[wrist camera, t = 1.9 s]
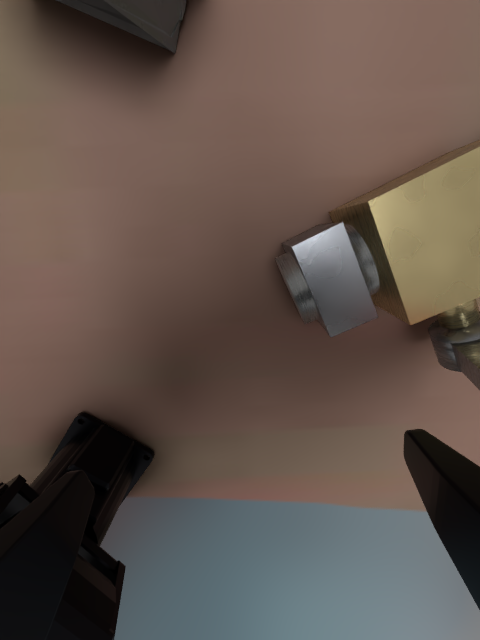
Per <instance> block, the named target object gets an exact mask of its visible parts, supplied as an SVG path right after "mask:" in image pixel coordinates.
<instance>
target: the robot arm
mask: <svg viewBox="0 0 480 640" xmlns="http://www.w3.org/2000/svg"><path fill="white" fill-rule="evenodd" d="M81 419H83V420H84V421H82V420H81ZM146 455H148V456H149V457H148V456H146ZM154 455H155V454H154V451H153V450H151V449H150V448H148V447H146V446H144V445H142V444H141V443H139V442H137V441H135V440H133V439H132V438H130V437H128V436H126V435H125V434H123V433H121V432H119V431H117V430H116V429H114V428H112V427H110V426H108V425H107V424H105V423H103V422H101V421H99V420H98V419H96V418H94V417H92V416H90V415H89V414H87V413H79V414H78V415H77V417H76V418H75V419H74V421H73V422H72V424H71V426H70V427H69V429H68V431H67V433H66V434H65V436H64V438H63V439H62V441H61V443H60V445H59V446H58V448H57V450H56V451H55V453H54V455H53V457H52V458H51V460H50V462H49V463H48V465H47V467H46V468H45V469H44V470H43V471H42V472H41V473H40V475H39V476H38V477H37V478H36V479H35V480H34V481H33V482H32V484H31V485H30V486H29V485H28V484H27V483H26V480H25V479H24V478H23V477H22V476H21V475H20V474H19V475H18V476H16V477H15V478H14V479H12V480H11V481H9V482H8V483H7V484H4V483H3V482H2V483H0V640H114V636H115V630H116V624H117V617H118V611H119V605H120V599H121V592H122V586H123V580H124V573H125V566H124V564H122V563H121V562H120V561H116V560H115V559H114V558H113V557H111V556H110V555H109V554H108V553H107V552H106V551H105V550H103V549H102V548H101V547H100V545H101V543H102V541H103V539H104V537H105V535H106V533H107V531H108V528H109V527H110V525H111V522H112V520H113V518H114V516H115V514H116V512H117V510H118V508H119V506H120V505H121V503H122V502H123V500H124V499H125V498H126V496H127V495H128V494H129V492H130V491H131V489H132V488H133V487H134V485H135V484H136V483H137V481H138V480H139V478H140V477H141V476H142V474H143V473H144V471H145V470H146V469H147V467H148V466H149V465H150V463H151V462H152V460H153V458H154ZM404 458H405V461H406V464H407V466H408V469H409V471H410V473H411V476H412V478H413V480H414V482H415V485H416V487H417V489H418V492H419V494H420V496H421V499H422V501H423V503H424V505H425V508H426V510H427V512H428V515H429V516H430V519H431V521H432V523H433V525H434V528H435V529H436V531H437V533H438V535H439V537H440V539H441V541H442V543H443V544H444V546H445V548H446V550H447V552H448V554H449V555H450V557H451V559H452V561H453V563H454V564H455V566H456V568H457V570H458V571H459V574H460V575H461V577H462V579H463V580H464V583H465V584H466V586H467V588H468V590H469V592H470V593H471V595H472V597H473V599H474V601H475V603H476V604H477V606H478V608H479V610H480V467H479V466H478V465H476V464H475V463H473V462H472V461H470V460H469V459H467V458H466V457H464V456H463V455H461V454H460V453H458V452H457V451H455V450H454V449H452V448H451V447H449V446H448V445H446V444H445V443H443V442H442V441H440V440H439V439H437V438H436V437H434V436H433V435H431V434H430V433H428V432H427V431H425V430H423V429H415V430H407V431H406V432H405V434H404Z"/></svg>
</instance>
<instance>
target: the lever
mask: <svg viewBox="0 0 480 640" xmlns="http://www.w3.org/2000/svg"><path fill="white" fill-rule="evenodd" d="M479 313H480V312H479ZM428 331H429V335H430V338H431V341H432V344H433V347H434V350H435V353H436V356H437V359H438V362H439V363H440V365H441V366H443V367H444V368H446V369H449V370H453V371H458V372H462V373H463V374H464V375H465V376H466V377H467V378H468V379H469V380H470V381H471V382H472V383H473V384H474V385H475V386H476V387H477V388H478V389H479V390H480V320H479V321H478V322H477V323H475V324H473V325H471V326H468V327H464V328H458V329H448V328H444V327H441V326H440V324H439V321H438V320H436V321H435V322H433V323H432V324H431V325H430V327H429V329H428Z"/></svg>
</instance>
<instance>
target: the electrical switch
mask: <svg viewBox="0 0 480 640" xmlns="http://www.w3.org/2000/svg"><path fill="white" fill-rule="evenodd" d="M56 1H59V2H61V3H63V4H65V5H68V6H70V7H72V8H75V9H77V10H79V11H81V12H84V13H86V14H88V15H90V16H93V17H95V18H97V19H100V20H102V21H104V22H106V23H109V24H111V25H113V26H116V27H118V28H120V29H122V30H125V31H127V32H129V33H131V34H134V35H136V36H138V37H141V38H143V39H145V40H147V41H150V42H152V43H154V44H156V45H159V46H161V47H163V48H166V49H168V50H170V51H172V52H173V53H175V52H176V46H177V40H178V34H179V28H180V23H181V21H182V19H183V15H184V12H185V6H186V0H56Z"/></svg>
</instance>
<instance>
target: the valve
mask: <svg viewBox="0 0 480 640" xmlns="http://www.w3.org/2000/svg"><path fill="white" fill-rule="evenodd" d="M329 214H330V217H331V219H332V222H333V223H330V224H322V225H317V226H315V227H313V228H311V229H309V230H307V231H305V232H303V233H301V234H299V235H297V236H295V237H293V238H291V239H289V240H287V241H285V242H283V243H282V246H283V248H284V250H285V254H283V255H281V256H278V257H276V258H275V261H276V263H277V266H278V268H279V271H280V273H281V275H282V278H283V280H284V282H285V285H286V287H287V289H288V291H289V293H290V296H291V298H292V300H293V302H294V304H295V306H296V308H297V310H298V312H299V314H300V316H301V318H302V320H303V322H304V324H307V323H309V322H312V321H314V320H316V319H317V320H318V321H319V323H320V324H321V325H322V327H323V328H324V329H325V331H326V332H327V333H328V335H329V336H330V337H333V336H335V335H338V334H340V333H342V332H345V331H347V330H349V329H352V328H354V327H357V326H359V325H361V324H364V323H366V322H368V321H371V320H373V319H375V318H378V315H377V313H376V310H375V307H374V304H375V305H376V306H378V307H380V308H382V309H383V310H385V311H387V312H388V313H390V314H392V315H394V316H395V317H397V318H399V319H401V320H402V321H404V322H406V323H407V324H409V325H413V324H415V323H418V322H420V321H422V320H425V319H427V318H430V317H432V316H435V315H437V318H438V321H439V324H440V326H441V327H444V328H448V329H458V328H464V327H468V326H471V325H473V324H475V323H477V322H478V321H479V320H480V313H479V309H478V306H477V302H476V298H478V297H480V140H478V141H476V142H473V143H471V144H468V145H466V146H463V147H461V148H458V149H456V150H454V151H451V152H449V153H447V154H445V155H443V156H441V157H439V158H437V159H435V160H433V161H431V162H429V163H427V164H425V165H423V166H421V167H419V168H417V169H415V170H413V171H411V172H409V173H407V174H405V175H403V176H400V177H398V178H396V179H394V180H392V181H390V182H388V183H386V184H384V185H382V186H380V187H378V188H376V189H374V190H372V191H370V192H368V193H366V194H364V195H362V196H360V197H358V198H356V199H354V200H352V201H350V202H348V203H346V204H344V205H342V206H340V207H338V208H336V209H334V210H332V211H330V212H329Z"/></svg>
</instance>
